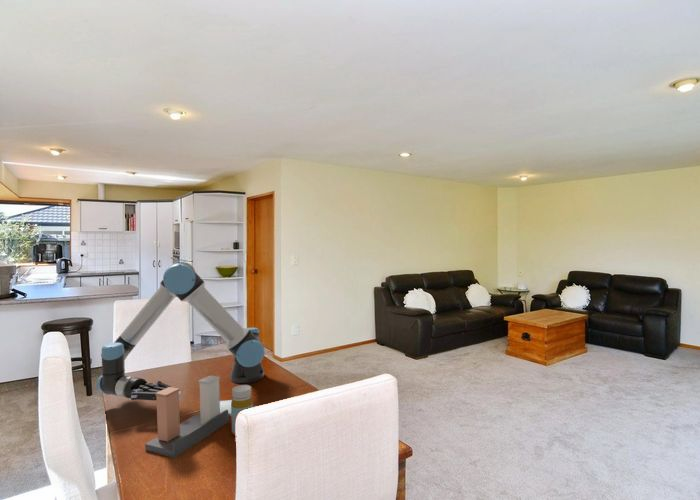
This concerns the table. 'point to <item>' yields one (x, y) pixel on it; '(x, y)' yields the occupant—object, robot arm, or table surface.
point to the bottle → (240, 401)
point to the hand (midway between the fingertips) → (179, 396)
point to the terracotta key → (168, 413)
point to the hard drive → (225, 406)
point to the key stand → (187, 435)
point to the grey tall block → (209, 398)
